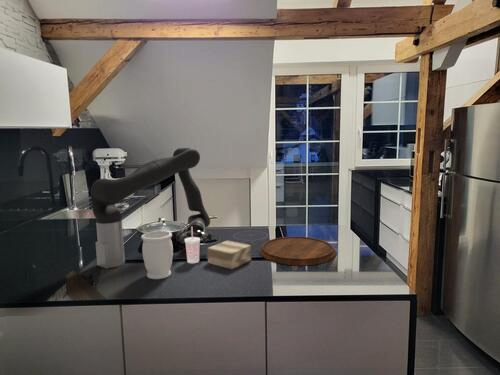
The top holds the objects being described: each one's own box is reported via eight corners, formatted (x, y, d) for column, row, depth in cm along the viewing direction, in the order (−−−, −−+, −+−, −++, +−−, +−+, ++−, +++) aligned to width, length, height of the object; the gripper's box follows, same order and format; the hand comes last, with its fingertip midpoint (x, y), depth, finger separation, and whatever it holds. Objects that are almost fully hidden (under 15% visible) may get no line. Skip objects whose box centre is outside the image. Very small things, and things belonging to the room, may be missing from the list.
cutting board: (245, 258, 150) (245, 252, 149) (277, 237, 178) (277, 232, 177) (323, 271, 135) (323, 265, 135) (344, 246, 163) (345, 241, 163)
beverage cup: (201, 258, 150) (200, 224, 148) (200, 263, 144) (199, 228, 142) (186, 258, 150) (185, 224, 147) (184, 264, 144) (182, 229, 141)
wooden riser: (231, 269, 138) (231, 253, 137) (208, 262, 145) (207, 247, 144) (251, 259, 147) (250, 245, 146) (227, 254, 154) (227, 240, 153)
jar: (158, 283, 126) (156, 240, 124) (137, 277, 132) (134, 236, 129) (180, 272, 135) (178, 232, 133) (159, 267, 140) (157, 229, 138)
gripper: (179, 222, 163) (174, 232, 147) (212, 221, 164) (210, 231, 148) (180, 238, 164) (175, 250, 148) (212, 237, 165) (211, 249, 149)
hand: (192, 241), depth 148 cm, fingers open, 8 cm apart
